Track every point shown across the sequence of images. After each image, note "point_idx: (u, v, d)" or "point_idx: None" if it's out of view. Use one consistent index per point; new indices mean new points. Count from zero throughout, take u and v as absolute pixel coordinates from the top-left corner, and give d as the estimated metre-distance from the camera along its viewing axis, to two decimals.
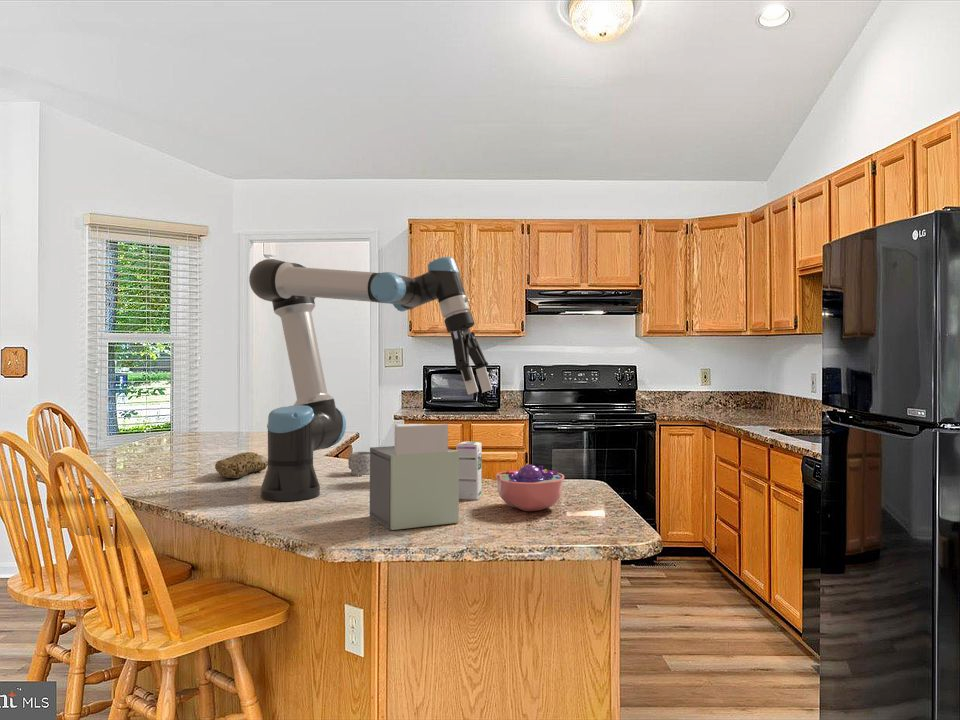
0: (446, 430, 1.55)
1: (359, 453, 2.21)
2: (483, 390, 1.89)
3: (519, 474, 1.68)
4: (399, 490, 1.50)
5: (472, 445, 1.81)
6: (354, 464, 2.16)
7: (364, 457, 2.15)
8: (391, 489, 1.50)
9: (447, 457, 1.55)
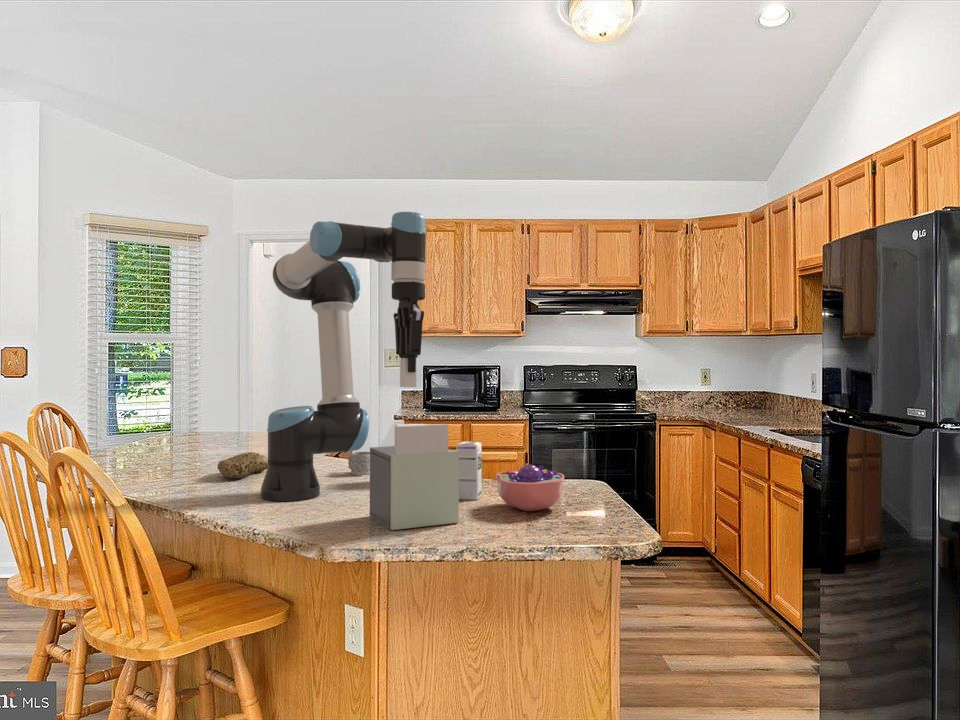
0: (446, 430, 1.55)
1: (359, 453, 2.21)
2: (402, 384, 1.58)
3: (519, 474, 1.68)
4: (399, 490, 1.50)
5: (472, 445, 1.81)
6: (354, 464, 2.16)
7: (364, 457, 2.15)
8: (391, 489, 1.50)
9: (447, 457, 1.55)
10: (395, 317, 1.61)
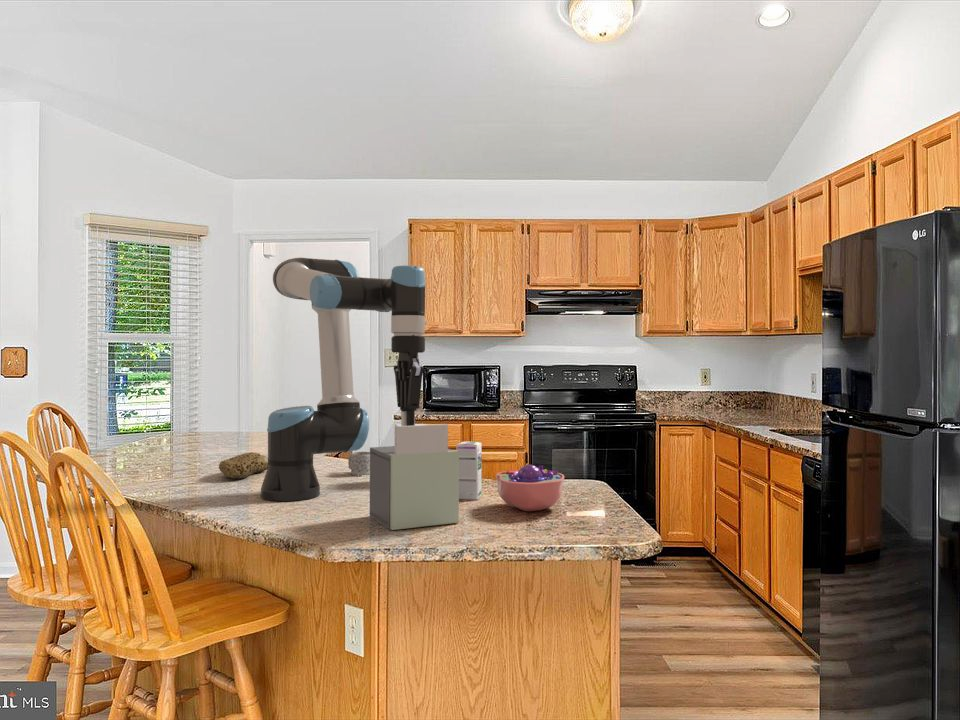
0: (446, 430, 1.55)
1: (359, 453, 2.21)
2: None
3: (519, 474, 1.68)
4: (399, 490, 1.50)
5: (472, 445, 1.81)
6: (354, 464, 2.16)
7: (364, 457, 2.15)
8: (391, 489, 1.50)
9: (447, 457, 1.55)
10: (395, 369, 1.61)
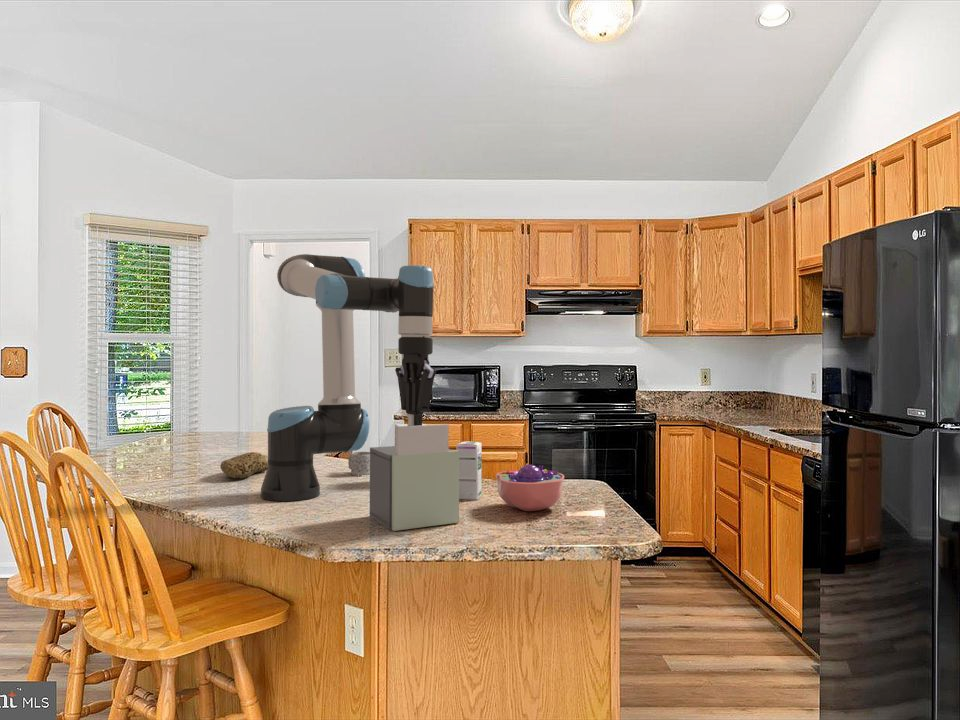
0: (447, 430, 1.55)
1: (359, 453, 2.21)
2: None
3: (519, 474, 1.68)
4: (401, 491, 1.49)
5: (472, 445, 1.81)
6: (354, 464, 2.16)
7: (364, 457, 2.15)
8: (393, 489, 1.49)
9: (448, 457, 1.55)
10: (398, 371, 1.57)
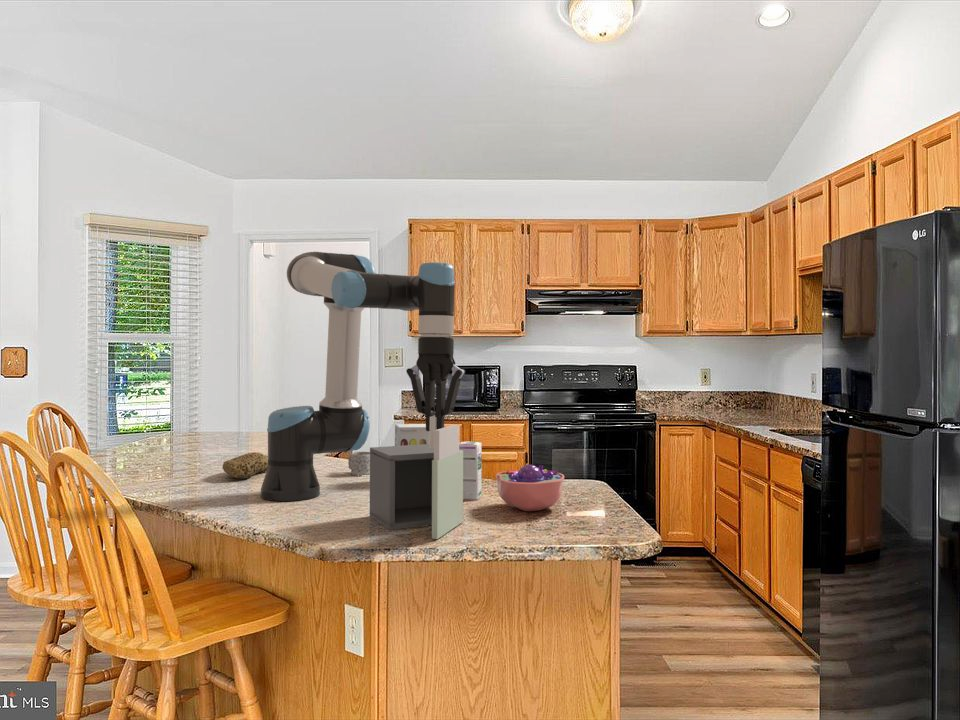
0: (458, 430, 1.54)
1: (359, 453, 2.21)
2: None
3: (519, 474, 1.68)
4: (440, 497, 1.44)
5: (472, 445, 1.81)
6: (354, 464, 2.16)
7: (364, 457, 2.15)
8: (436, 496, 1.42)
9: (458, 458, 1.54)
10: (411, 373, 1.49)
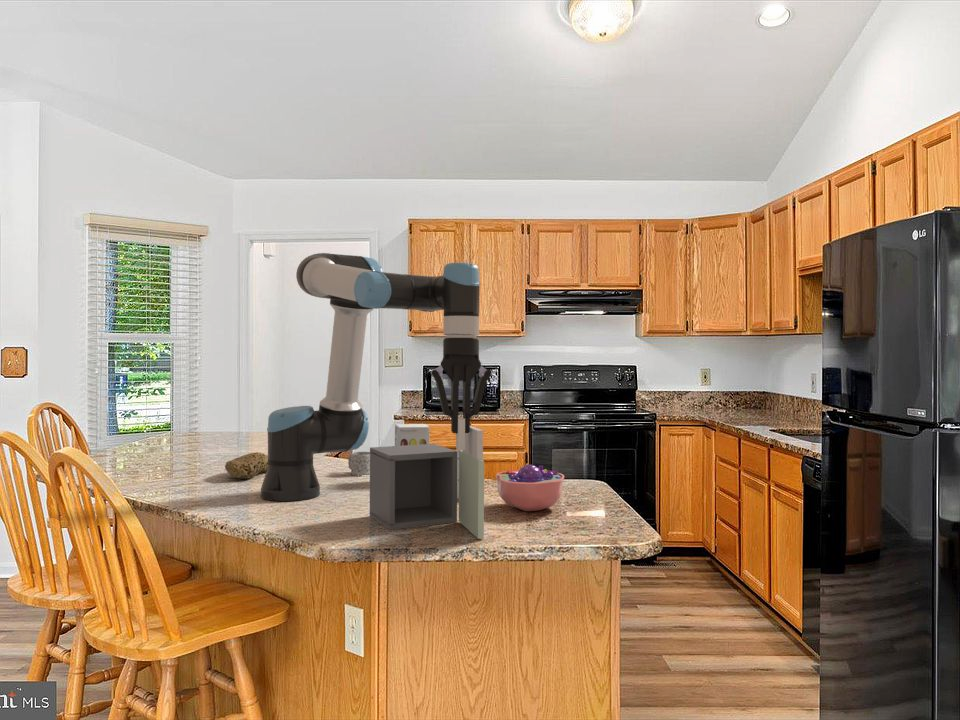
0: None
1: (359, 453, 2.21)
2: None
3: (519, 474, 1.68)
4: None
5: None
6: (354, 464, 2.16)
7: (364, 457, 2.15)
8: (482, 496, 1.43)
9: None
10: (438, 374, 1.45)
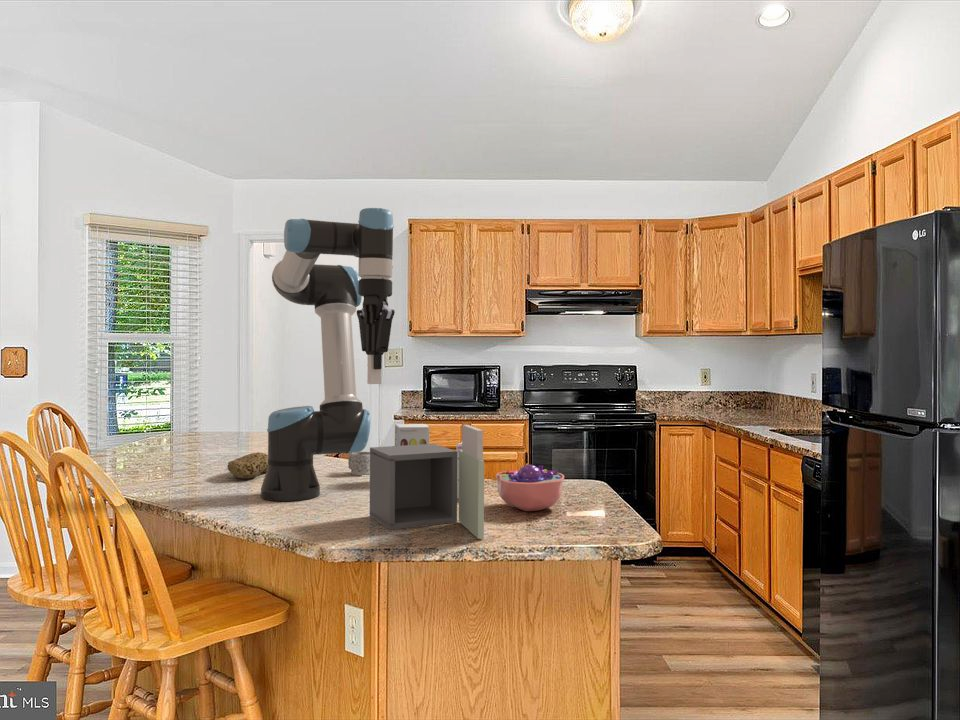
0: None
1: (359, 453, 2.21)
2: None
3: (519, 474, 1.68)
4: None
5: None
6: (354, 464, 2.16)
7: (364, 457, 2.15)
8: (482, 496, 1.43)
9: None
10: (359, 314, 1.60)
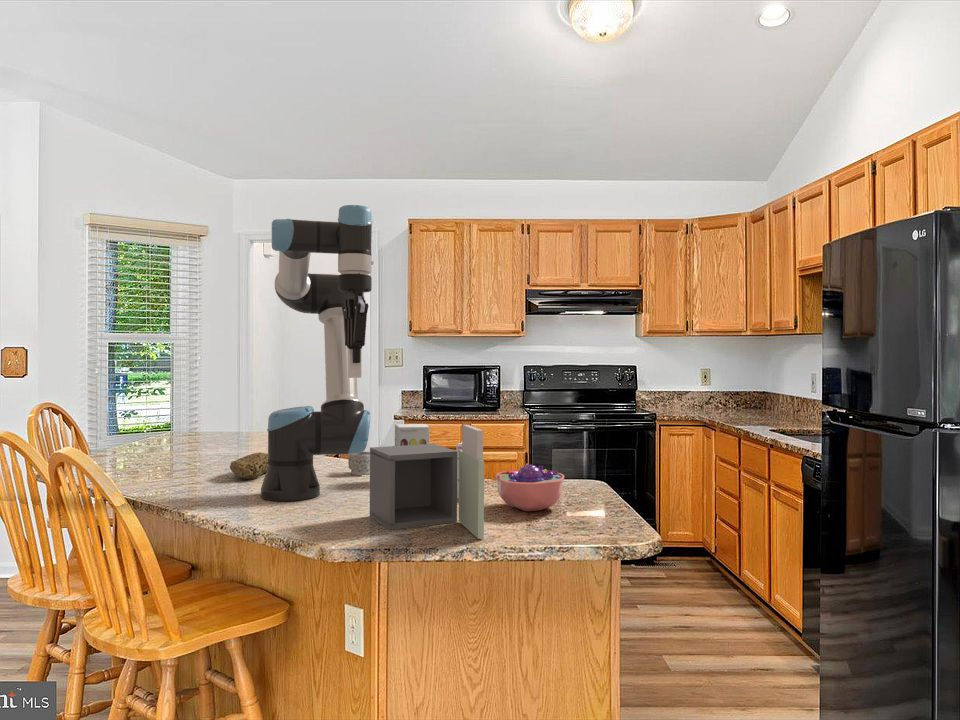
0: None
1: (359, 453, 2.21)
2: None
3: (519, 474, 1.68)
4: None
5: None
6: (354, 464, 2.16)
7: (364, 457, 2.15)
8: (482, 496, 1.43)
9: None
10: (343, 309, 1.64)
